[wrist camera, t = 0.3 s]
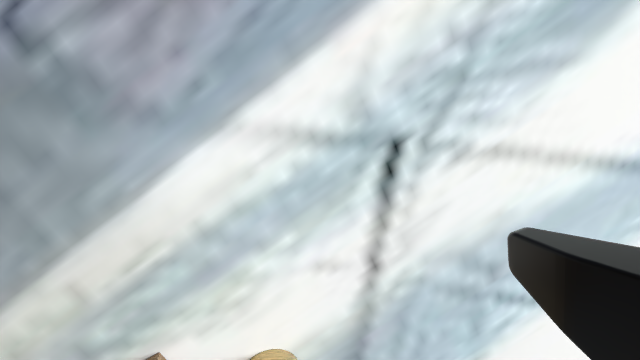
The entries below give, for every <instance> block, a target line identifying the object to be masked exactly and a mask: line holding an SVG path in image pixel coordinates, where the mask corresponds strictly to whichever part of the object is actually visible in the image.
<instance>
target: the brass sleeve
mask: <svg viewBox="0 0 640 360" xmlns="http://www.w3.org/2000/svg"><path fill="white" fill-rule="evenodd" d="M250 360H297V358H296V357H295V356H294V355H293V354H292V353H290V352H288V351H286V350H281V349H271V350H267V351H263V352H261V353H259V354H257V355H255V356H254V357H252V358H251V359H250Z"/></svg>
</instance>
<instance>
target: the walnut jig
mask: <svg viewBox="0 0 640 360" xmlns="http://www.w3.org/2000/svg"><path fill="white" fill-rule="evenodd" d="M147 360H166V359H165V358H164V357H163V356H162V355H161V354H160V353H157V354H156V355H154V356H152V357H150V358H148V359H147Z"/></svg>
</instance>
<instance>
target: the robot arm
mask: <svg viewBox="0 0 640 360" xmlns="http://www.w3.org/2000/svg"><path fill="white" fill-rule="evenodd" d="M508 261H509V267H510V270H511V272H512V274H513V275H514V276H515V278H516V279H517V280H518V281H519V282H520V283H521V284H522V286H523V287H524V288H525V289H526V290H527V291H528V293H529V294H530V295H531V296H532V297H533V298H534V300H535V301H536V302H537V303H538V304H539V305H540V306H541V308H542V309H543V310H544V311H545V312H546V313H547V315H548V316H549V317H550V318H551V319H552V320H553V322H554V323H555V324H556V325H557V326H558V327H559V328H560V329H561V330H562V331H563V333H564V334H565V335H566V336H567V337H568V338H569V339H570V340H571V341H572V342H573V343H574V344H575V345H576V346H577V347H578V348H580V349H581V350H582V351H583V352H584V353H585V354H586V355H587V356H588V357H589V358H590V359H591V360H640V247H634V246H629V245H623V244H618V243H612V242H607V241H601V240H596V239H590V238H584V237H579V236H573V235H568V234H562V233H557V232H551V231H546V230H540V229H535V228H528V227H527V228H522V229H519V230H517V231H514V232H511V233H510V234H509V236H508Z"/></svg>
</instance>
